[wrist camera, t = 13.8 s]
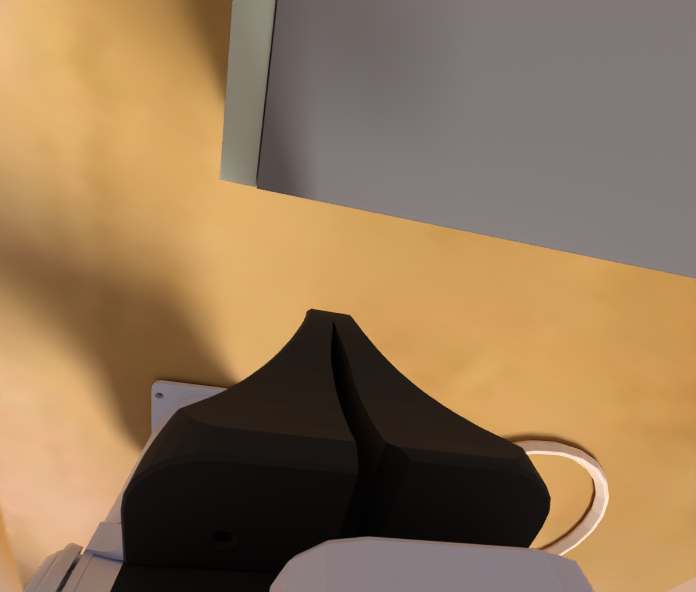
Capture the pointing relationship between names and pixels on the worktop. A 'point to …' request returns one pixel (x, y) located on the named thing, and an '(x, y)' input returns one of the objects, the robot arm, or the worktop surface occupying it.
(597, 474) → the hand towel holder
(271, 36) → the drawer tray
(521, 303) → the worktop surface
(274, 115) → the block
